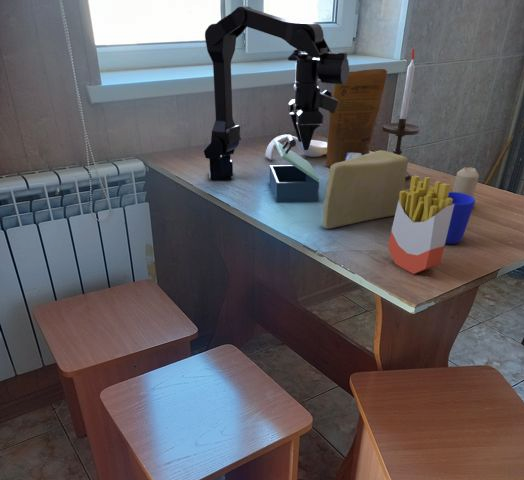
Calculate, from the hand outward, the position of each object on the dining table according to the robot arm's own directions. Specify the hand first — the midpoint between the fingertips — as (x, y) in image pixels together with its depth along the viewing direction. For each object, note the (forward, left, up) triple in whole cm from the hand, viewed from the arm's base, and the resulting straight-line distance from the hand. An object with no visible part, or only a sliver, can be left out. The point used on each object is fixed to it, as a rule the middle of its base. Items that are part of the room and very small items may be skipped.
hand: (303, 145), depth 139 cm
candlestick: (+32, +13, -13) cm, 37 cm away
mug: (+27, -36, -13) cm, 47 cm away
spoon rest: (+6, +37, -13) cm, 40 cm away
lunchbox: (-2, 0, -13) cm, 13 cm away
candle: (+42, -14, -13) cm, 46 cm away
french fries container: (+15, -49, -13) cm, 53 cm away
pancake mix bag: (+21, +26, -13) cm, 36 cm away
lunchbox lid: (-2, 0, -4) cm, 5 cm away
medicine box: (+16, +4, -13) cm, 21 cm away
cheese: (+11, -22, -13) cm, 28 cm away
